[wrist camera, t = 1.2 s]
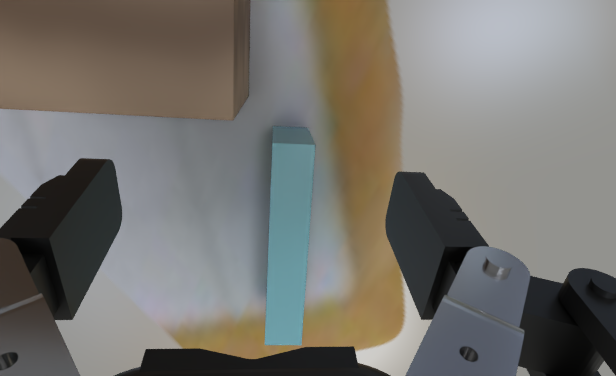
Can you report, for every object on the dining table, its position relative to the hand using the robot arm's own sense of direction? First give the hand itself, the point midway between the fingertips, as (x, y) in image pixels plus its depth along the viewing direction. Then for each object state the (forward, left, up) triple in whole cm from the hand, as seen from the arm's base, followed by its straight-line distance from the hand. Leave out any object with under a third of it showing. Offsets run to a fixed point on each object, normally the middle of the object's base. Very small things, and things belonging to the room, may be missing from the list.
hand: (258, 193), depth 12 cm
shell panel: (+8, +2, -18) cm, 20 cm away
